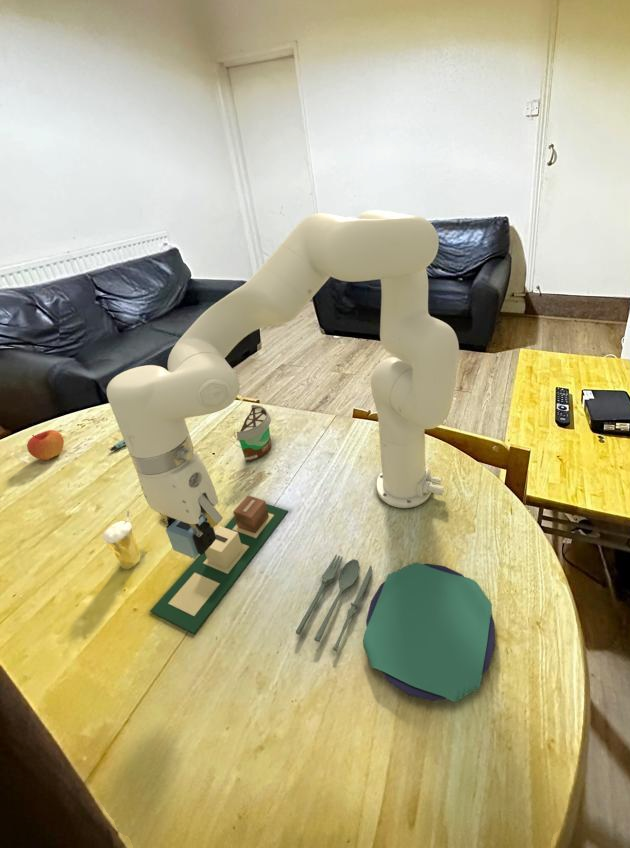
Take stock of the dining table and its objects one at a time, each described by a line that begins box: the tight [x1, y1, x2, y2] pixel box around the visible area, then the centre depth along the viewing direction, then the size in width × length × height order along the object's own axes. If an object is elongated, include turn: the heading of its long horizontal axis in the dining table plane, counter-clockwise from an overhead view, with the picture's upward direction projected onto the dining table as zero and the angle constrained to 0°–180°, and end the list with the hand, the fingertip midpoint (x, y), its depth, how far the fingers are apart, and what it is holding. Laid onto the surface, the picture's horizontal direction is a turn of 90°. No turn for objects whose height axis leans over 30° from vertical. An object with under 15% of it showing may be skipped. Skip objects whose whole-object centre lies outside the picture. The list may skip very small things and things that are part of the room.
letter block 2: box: [232, 494, 269, 533], centre depth 84 cm, size 4×4×5 cm
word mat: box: [149, 503, 289, 635], centre depth 79 cm, size 10×26×1 cm, turn 157°
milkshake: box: [102, 510, 142, 570], centre depth 77 cm, size 5×5×10 cm
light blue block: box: [165, 516, 216, 560], centre depth 64 cm, size 4×4×5 cm
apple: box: [26, 429, 65, 461], centre depth 108 cm, size 7×7×8 cm
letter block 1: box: [205, 525, 243, 569], centre depth 78 cm, size 4×4×5 cm
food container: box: [236, 404, 272, 463], centre depth 105 cm, size 12×6×10 cm, turn 179°
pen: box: [109, 438, 126, 452], centre depth 115 cm, size 19×3×3 cm, turn 144°
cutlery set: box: [295, 554, 496, 703], centre depth 66 cm, size 20×30×2 cm, turn 69°
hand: (194, 540), depth 65 cm, fingers closed on light blue block, 4 cm apart
